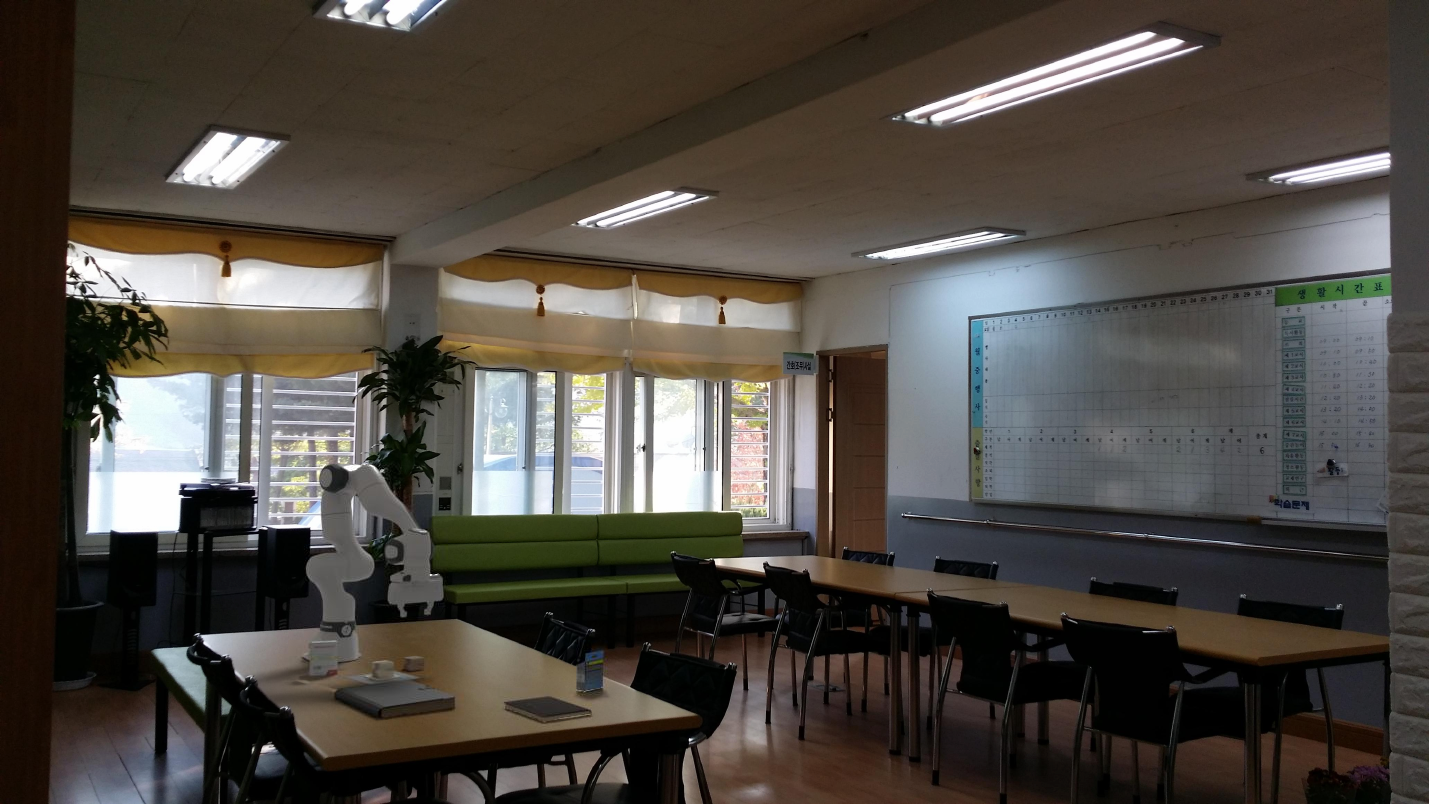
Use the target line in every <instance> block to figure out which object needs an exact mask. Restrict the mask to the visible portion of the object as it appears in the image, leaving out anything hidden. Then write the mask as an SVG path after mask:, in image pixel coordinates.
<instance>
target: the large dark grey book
mask: <svg viewBox="0 0 1429 804" xmlns="http://www.w3.org/2000/svg"><path fill="white" fill-rule="evenodd" d="M333 697H334V698H335V699H336V700H338V701H340V702H342V701H343V702H342V703H345V704H347V705H349V706H351V707H353V706H354V707H353V708H355V709H358V710H361V711H362V710H363V711H362V712H364V711H365V713H367V714H369V715H371V716H374V717H375V716H376V718H377V719H380V718H381V717H385V718H387V717H386V716H392V717H394V716H393V715H400V716H402V715H401V714H407V715H410V714H409V713H415V714H421V713H420V712H422V713H428V712H434V711H435V710H436V711H442V709H443V710H449V708H450V709H455V708H456V695H455V696H454V695H452V694H449V693H447V692H444V691H441V690H439V689H436V688H435V687H430V685H429V686H428V685H425V684H423V683H420V682H416V681H414V680H412V679H411V680H402V681H390V682H383V683H375V684H362V685H354V686H346V687H340V688H337V689H336V690H335V691H334V694H333ZM433 710H434V711H433ZM418 712H419V713H418Z"/></svg>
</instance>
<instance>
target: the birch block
mask: <svg viewBox="0 0 1429 804" xmlns="http://www.w3.org/2000/svg"><path fill="white" fill-rule="evenodd" d="M394 671H395V662H394V661H391V660H380V661H379V660H377V661H372V664H371V673H372V677H373V678H377V679H382V678H390V677H393V676H394Z"/></svg>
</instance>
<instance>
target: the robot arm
mask: <svg viewBox="0 0 1429 804" xmlns="http://www.w3.org/2000/svg"><path fill="white" fill-rule="evenodd" d="M318 482H319V486H320V488H321V489H322V490H323V492H322V494H321V498H320V500H321V502H320V519H321V520H320V521H321V532H322V533H321V535H322V537H323V539H324V540H325V542H327V543H329V544H331V545H332V546H333V547H334V549H335V550H336V552H324V553H320V554H316V555H313V556H311V557H310V558H309V560H308V561H307V563H306V566H305V570H306V571H305V573H306V576H307V578H308V579H309V580H310V581H311V582H312V583H314V584H315V585H316V587H317V589H318V590H319V592H320V595H321V598H322V620H321V621H319V625H320V626H319V632H317V633H316V634H315V636H314V637H312V638H311V640H309V641H310V642H308V649H309V650H308V652H305V653H302V655H301V656H302V658H304V659H306V660H308V661H310V646H311V642H312V641H335V640H336V641H337V642H338V663H340V662H341V663H342V662H349V661H355V660H358V659H359V658H361V657H362V653H359V636H358V634H357V633H356V631H355V630H356V626H357V623H356V619H355V616H356V613H355V611H356V599H355V597H354V596H353V595H352V594H351V593H349V592H346V591H345V588H344V583H349V582H351V583H353V582H359V581H362V580H366V579H368V578H370V577H371V576H372V575H373V573H374V570H375V562H374V558H373V556H372V555H371V554H369V553H368V552H367V551H365V549H364V548H363V547H362V546H361V545H360V543H359V542H358V541H359V540H358V539H357V535H356V533H355V528H354V520H353V519H354V518H353V509H352V500H353V498H354V497H357V498H358V500H359V502H360V505H361V506H362V508H363V509H364V510H365V511H366V512H367V513H368V514H369V515H371V516H374V517H377V518H382V519H386V520H389V521H390V522H393V523H395V525H397V526H398V527H399V529H400V530H401V531H402V533H403V534H401V535H399V536H396V537H393V538H390V539H389V540H388V541H387V542H386V543H385V546H384V551H383V552H384V558H385V560H386V561H387V562H388V563H389V564H390V565H395V566H397V565H398V566H399V565H402V566H403V565H404V566H403V570H401V571H399V572H396V573H394V574H392V575H390V576H389V577H390V579H389V580H390V581H391V583H390V584H389V585H388V591H387V602H388V603H389V605H397V609H398V610H399V612H400V614H399V615H400V616H399V617H400V618H406V617H407V615H408V612H407V611H405V609H404V607H405V604H414V603H415V604H417V603H426V604H427V607H426V608H425V609H424V613H423V614H424V615H426V616H429V615H431V614H432V613H431V612H432V609H433V607H434V606H435V605H434V602H440V601H442V600H443V599H444V587H443V580H444V579H443V577H442V576H441V575H440V574H439V573H437V574H431V563H430V561H431V559H433V556H434V554H435V545H434V543H433V541H432V539H431V537H430V535H431V534H430V532H429V531H427V530H425V529H423V528H422V527H421V526H420V525H419V523H418V522H417V521H416V519H415V517H414V516H413V514H412V512H411V511H410V510H409V508H408V507H407V506H406V505H405V504H404V503H403V502H402V501H401V500H400V499H399V498H398V497H397V496H396V495H395V494H394V493H393V492H392V490H391V489H390V486H389V485H388V482H387V481H386V480H385V477H384V476H383V475H382V473H381V472H380V470H379V469H378V468H377V466H375V465H373V464H359V463H358V464H357V463H340V464H338V463H331V464H328V465H325V466H324V467H323V468H322V469H321V470H320V473H319V476H318Z"/></svg>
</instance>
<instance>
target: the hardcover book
mask: <svg viewBox="0 0 1429 804" xmlns="http://www.w3.org/2000/svg"><path fill="white" fill-rule="evenodd" d="M503 704H504V705H505V706H504V707H505V709H506V708H508V709H507V710H509V709H511V710H510V711H512V710H514V711H516V712H515V713H517V712H519V713H518V714H520V713H522V714H521V715H523V714H524V715H523V716H525V715H527V716H526V717H528V716H530V717H529V718H531V717H533V718H532V719H534V718H536V719H538V720H537V721H539V720H540V721H539V722H542V721H549V722H551V721H550V720H555V719H559V718H564V717H571V716H577V715H585V714H591V715H592V710H591V709H590V708H587V707H584V706H580V705H577V704H574V703H571V702H568V701H565V700H562V699H560V698H556V697H553V696H551V695H547V696H541V697H540V696H539V697H532V698H525V699H518V700H508V701H504V702H503ZM514 711H513V712H514ZM536 719H535V720H536Z"/></svg>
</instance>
